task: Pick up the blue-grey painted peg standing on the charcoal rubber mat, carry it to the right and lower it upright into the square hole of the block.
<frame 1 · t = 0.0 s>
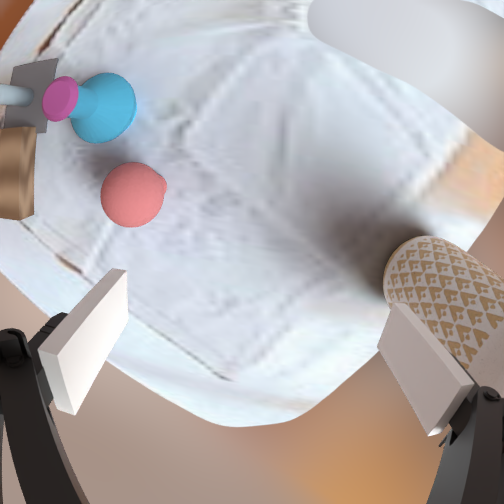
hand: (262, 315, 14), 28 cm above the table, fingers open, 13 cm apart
vase: (410, 269, 45), on the table
mat: (28, 97, 34), on the table
light bulb: (153, 185, 40), on the table
peg: (27, 97, 33), resting on mat
hole block: (6, 170, 37), on the table
perfume bottle: (115, 111, 36), on the table
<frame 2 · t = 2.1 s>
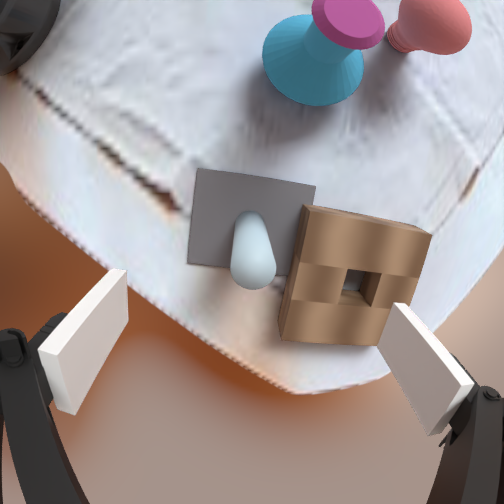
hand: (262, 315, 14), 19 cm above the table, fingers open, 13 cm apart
mat: (249, 223, 32), on the table
light bulb: (396, 42, 26), on the table
peg: (249, 224, 32), resting on mat
hole block: (348, 273, 34), on the table
perfume bottle: (304, 70, 27), on the table
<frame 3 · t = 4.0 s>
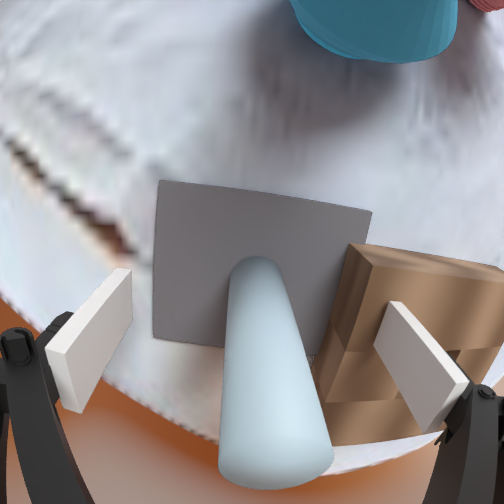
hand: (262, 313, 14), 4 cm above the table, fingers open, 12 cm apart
mat: (255, 277, 18), on the table
peg: (255, 280, 18), resting on mat
hole block: (405, 342, 20), on the table
perfume bottle: (347, 13, 13), on the table
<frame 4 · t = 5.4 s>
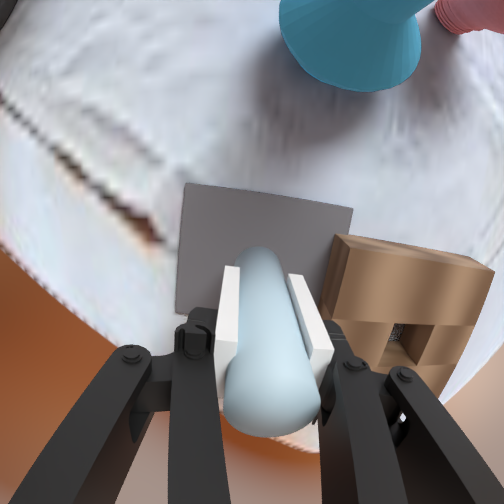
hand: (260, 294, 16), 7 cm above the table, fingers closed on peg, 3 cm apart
mat: (260, 261, 23), on the table
light bulb: (444, 21, 17), on the table
peg: (257, 268, 20), point 3 cm above the table, touching gripper
hole block: (388, 321, 25), on the table
perfume bottle: (334, 46, 18), on the table
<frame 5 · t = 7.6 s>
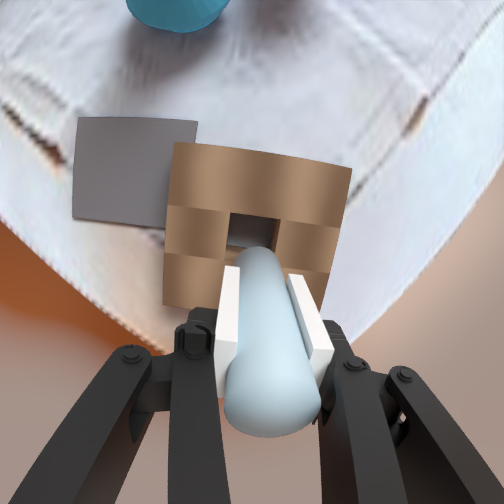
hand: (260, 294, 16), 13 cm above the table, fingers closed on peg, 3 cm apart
mat: (128, 170, 26), on the table
peg: (256, 268, 20), point 9 cm above the table, touching gripper
hole block: (250, 227, 28), on the table
perfume bottle: (188, 5, 21), on the table
when the fingers open (4 cm above the table, at t = 9.6 s): peg stays where it is, resting in hole block.
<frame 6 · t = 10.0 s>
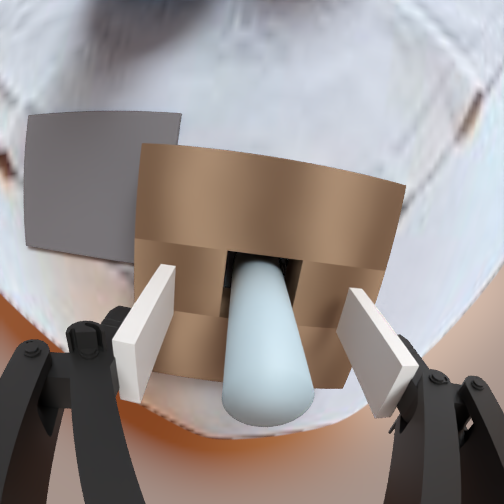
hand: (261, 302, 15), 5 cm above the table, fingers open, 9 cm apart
mat: (89, 184, 18), on the table
peg: (256, 264, 20), resting in hole block
hole block: (256, 263, 20), on the table
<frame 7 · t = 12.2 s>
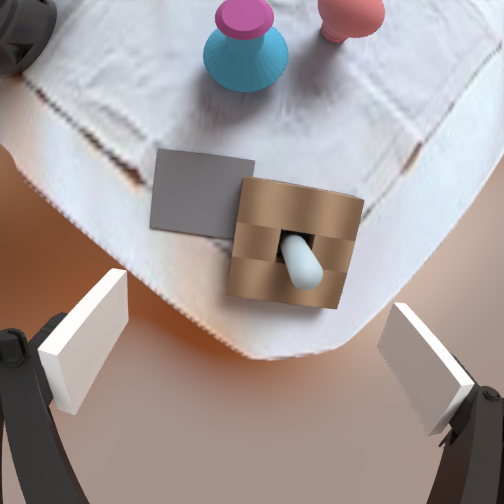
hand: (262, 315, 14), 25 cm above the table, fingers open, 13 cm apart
mat: (200, 194, 37), on the table
light bulb: (331, 34, 31), on the table
peg: (290, 239, 39), resting in hole block
hole block: (290, 239, 39), on the table
perfume bottle: (246, 65, 33), on the table
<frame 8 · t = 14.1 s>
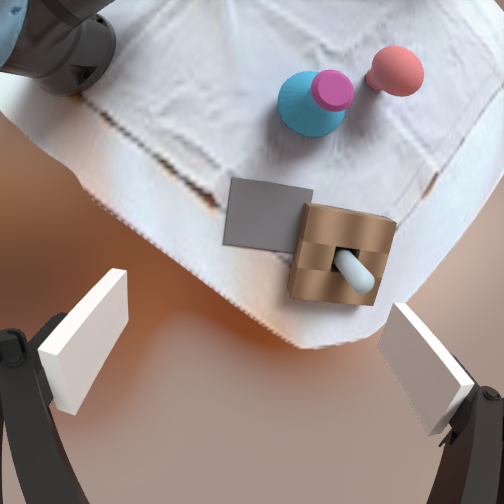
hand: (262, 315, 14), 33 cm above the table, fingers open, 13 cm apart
mat: (267, 216, 46), on the table
light bulb: (373, 82, 39), on the table
peg: (337, 252, 48), resting in hole block
hole block: (337, 252, 48), on the table
perfume bottle: (305, 108, 41), on the table
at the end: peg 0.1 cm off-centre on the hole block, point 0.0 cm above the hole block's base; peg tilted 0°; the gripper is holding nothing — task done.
